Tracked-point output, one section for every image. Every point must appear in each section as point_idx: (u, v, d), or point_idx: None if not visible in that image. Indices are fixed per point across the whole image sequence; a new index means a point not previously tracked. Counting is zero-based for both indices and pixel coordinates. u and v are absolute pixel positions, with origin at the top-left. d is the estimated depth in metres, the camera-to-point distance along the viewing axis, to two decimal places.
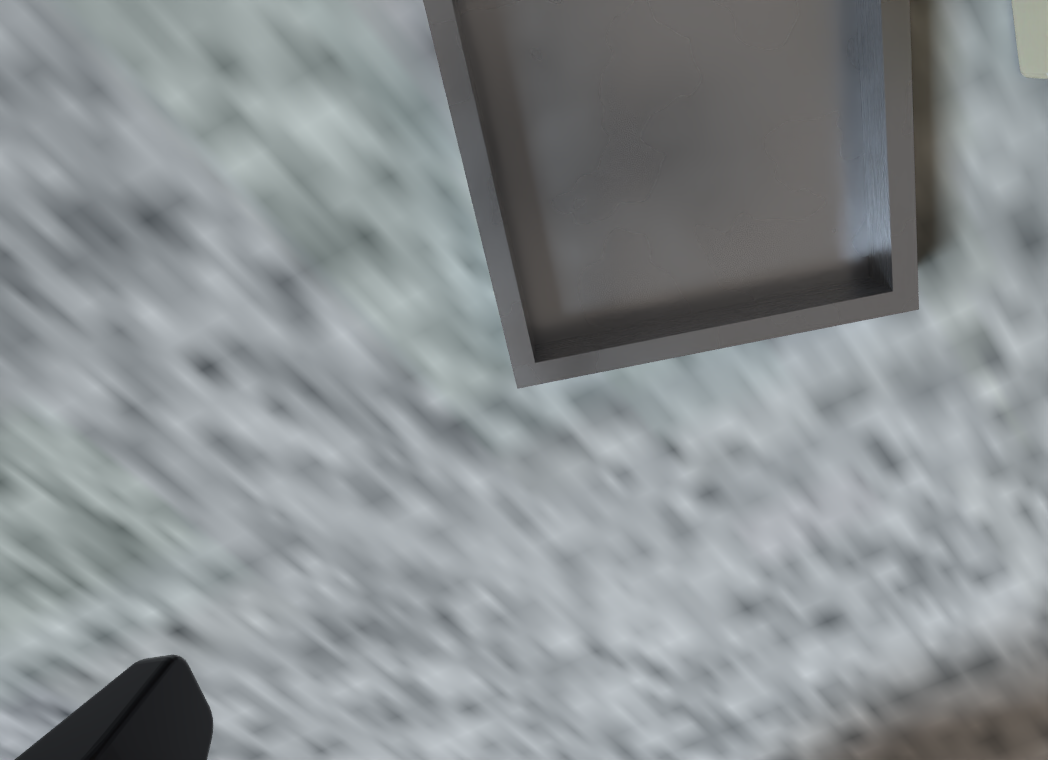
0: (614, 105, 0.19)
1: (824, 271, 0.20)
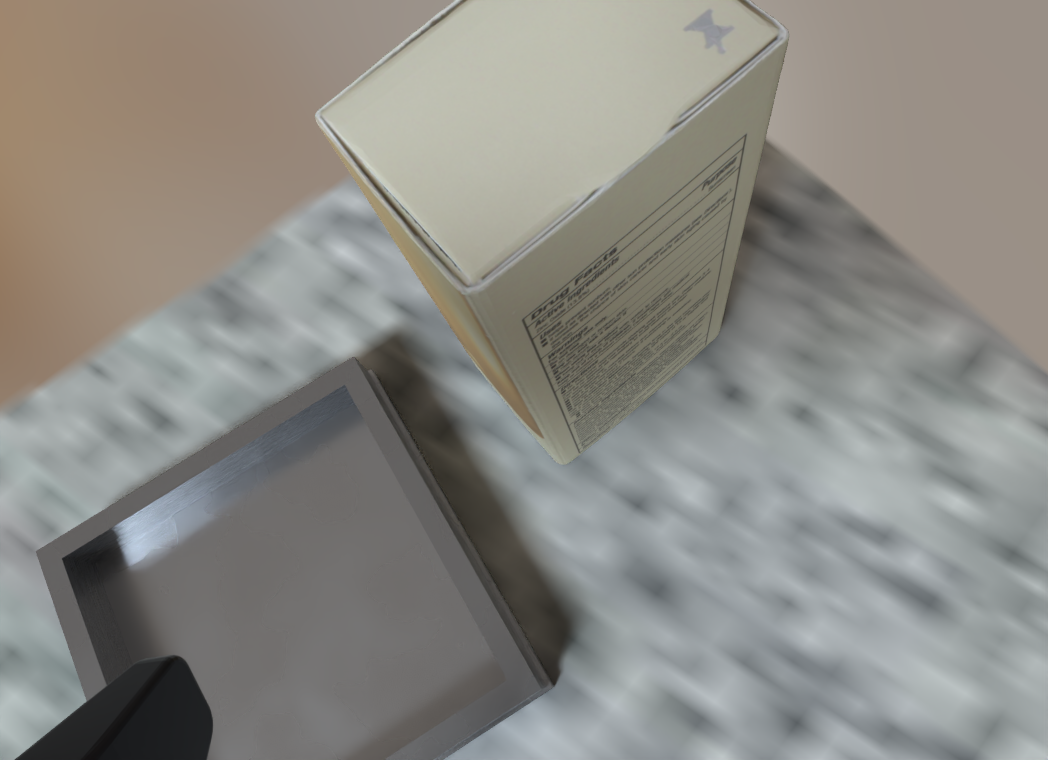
0: (235, 606, 0.21)
1: (470, 687, 0.20)
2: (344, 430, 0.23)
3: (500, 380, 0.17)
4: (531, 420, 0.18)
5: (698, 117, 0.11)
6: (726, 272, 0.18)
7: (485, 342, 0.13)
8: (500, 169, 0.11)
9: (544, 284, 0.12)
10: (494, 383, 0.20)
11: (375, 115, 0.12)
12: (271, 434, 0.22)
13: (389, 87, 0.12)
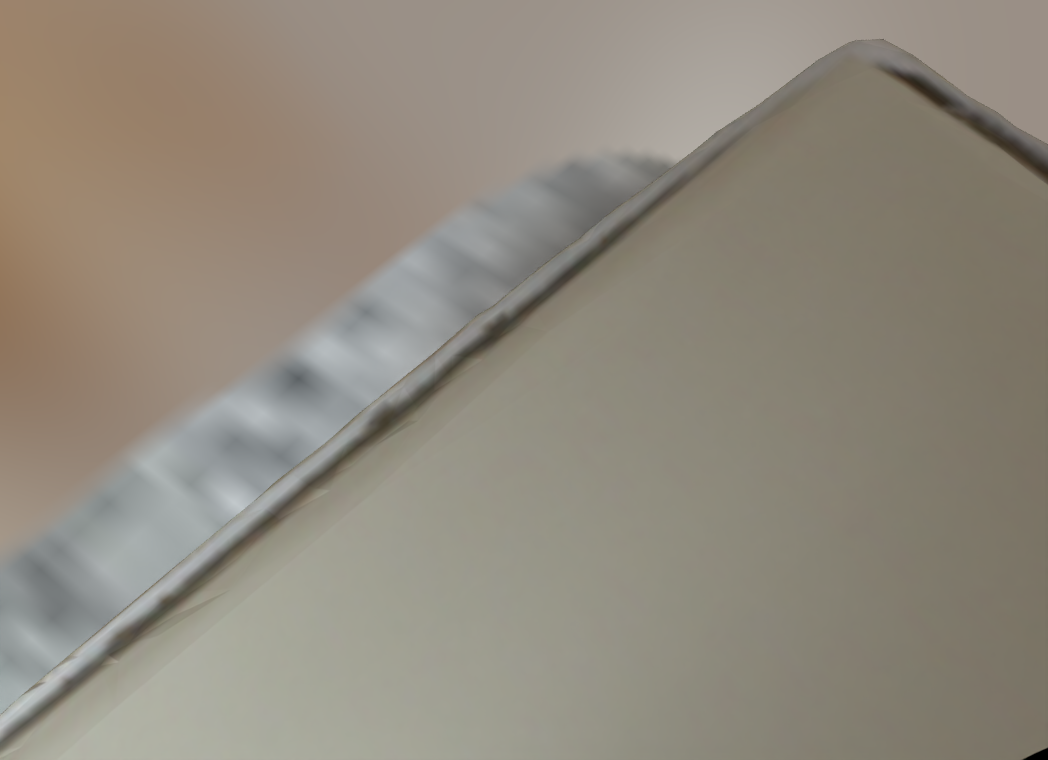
0: None
1: None
2: None
3: None
4: None
5: None
6: None
7: None
8: None
9: None
10: None
11: None
12: None
13: None
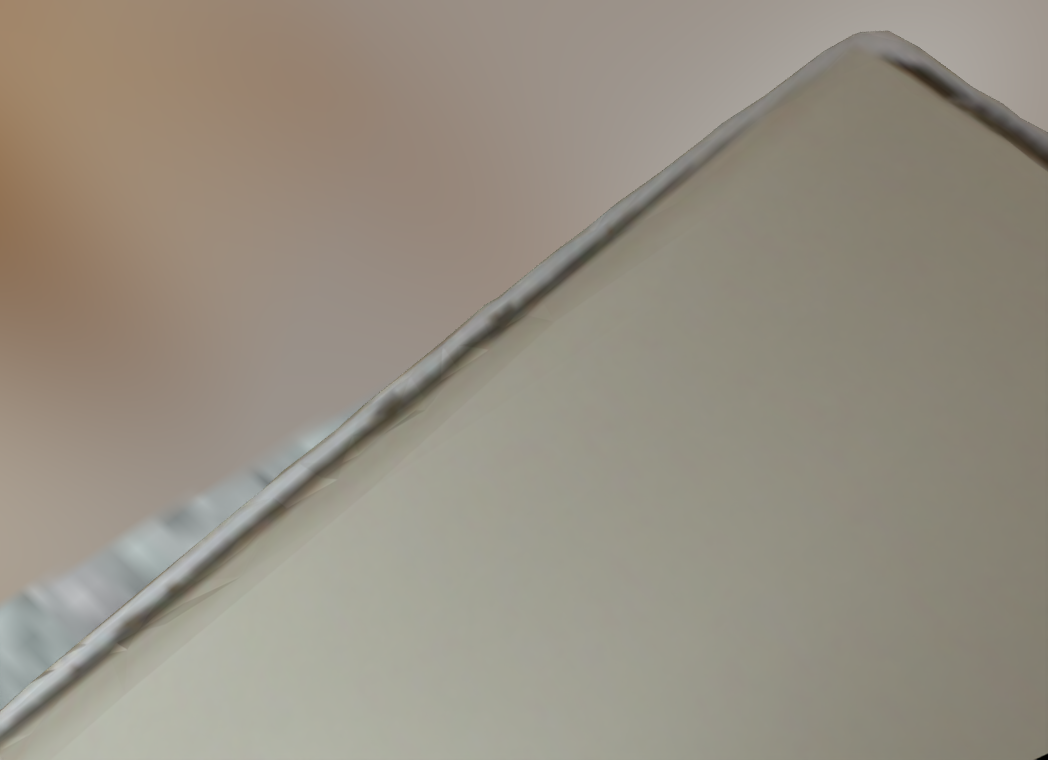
0: None
1: None
2: None
3: None
4: None
5: None
6: None
7: None
8: None
9: None
10: None
11: None
12: None
13: None
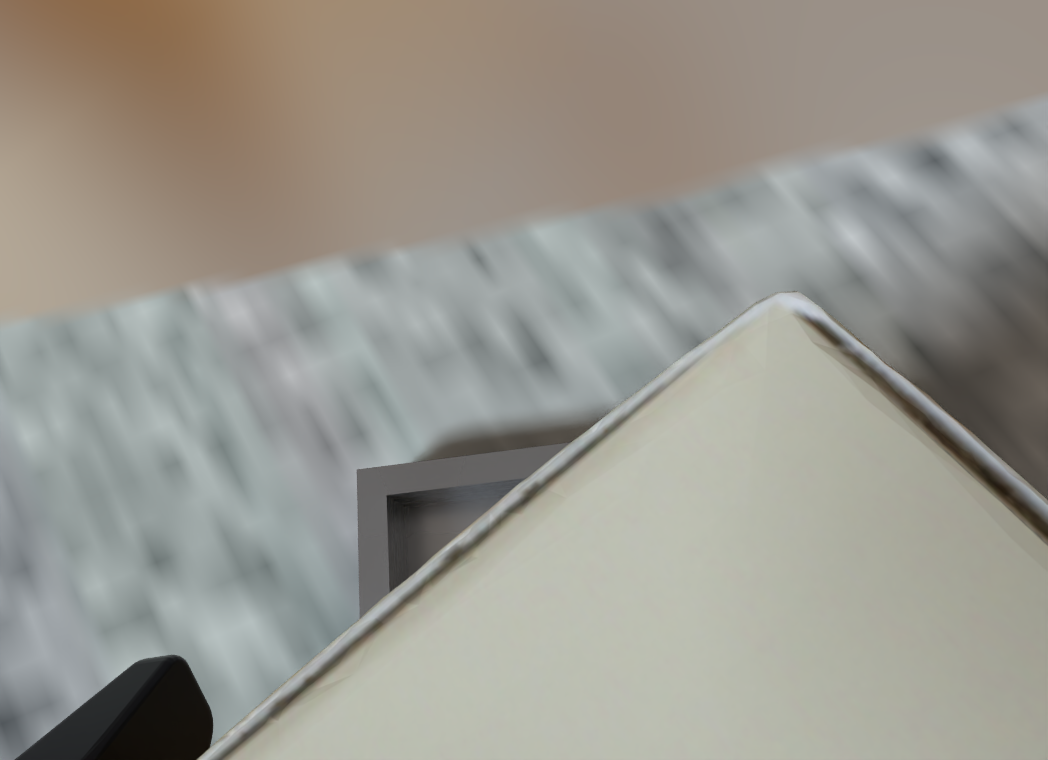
0: None
1: None
2: None
3: None
4: None
5: None
6: None
7: None
8: None
9: None
10: None
11: None
12: None
13: None
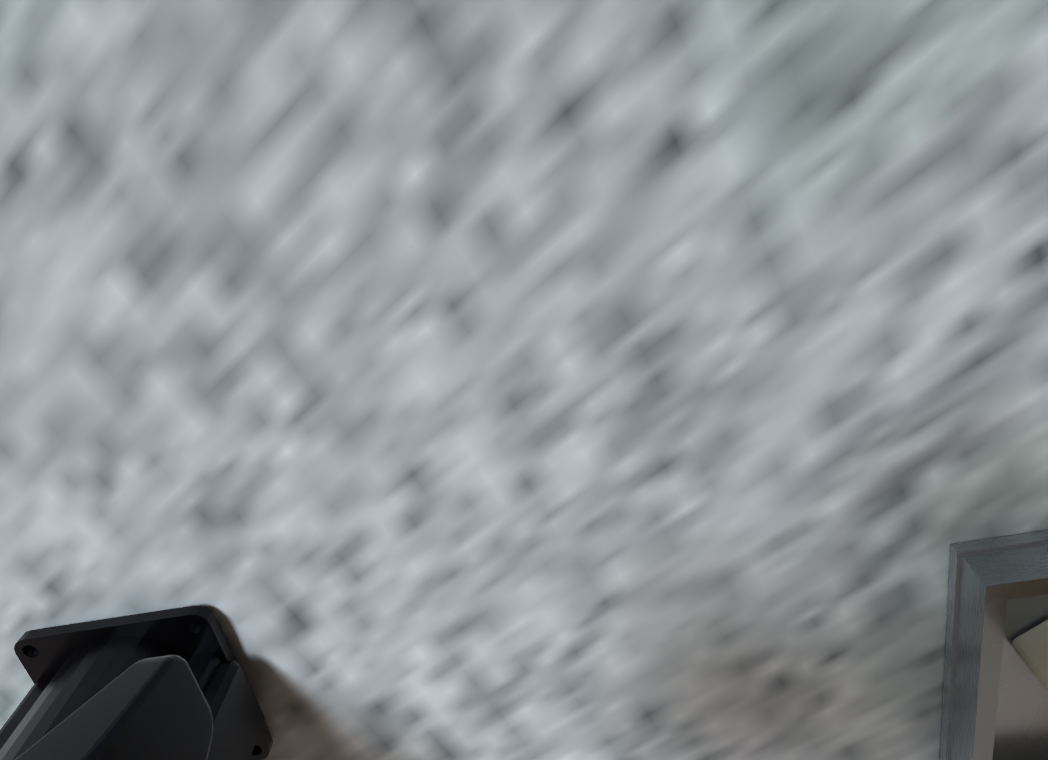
0: None
1: None
2: None
3: None
4: None
5: None
6: None
7: None
8: None
9: None
10: None
11: None
12: None
13: None
